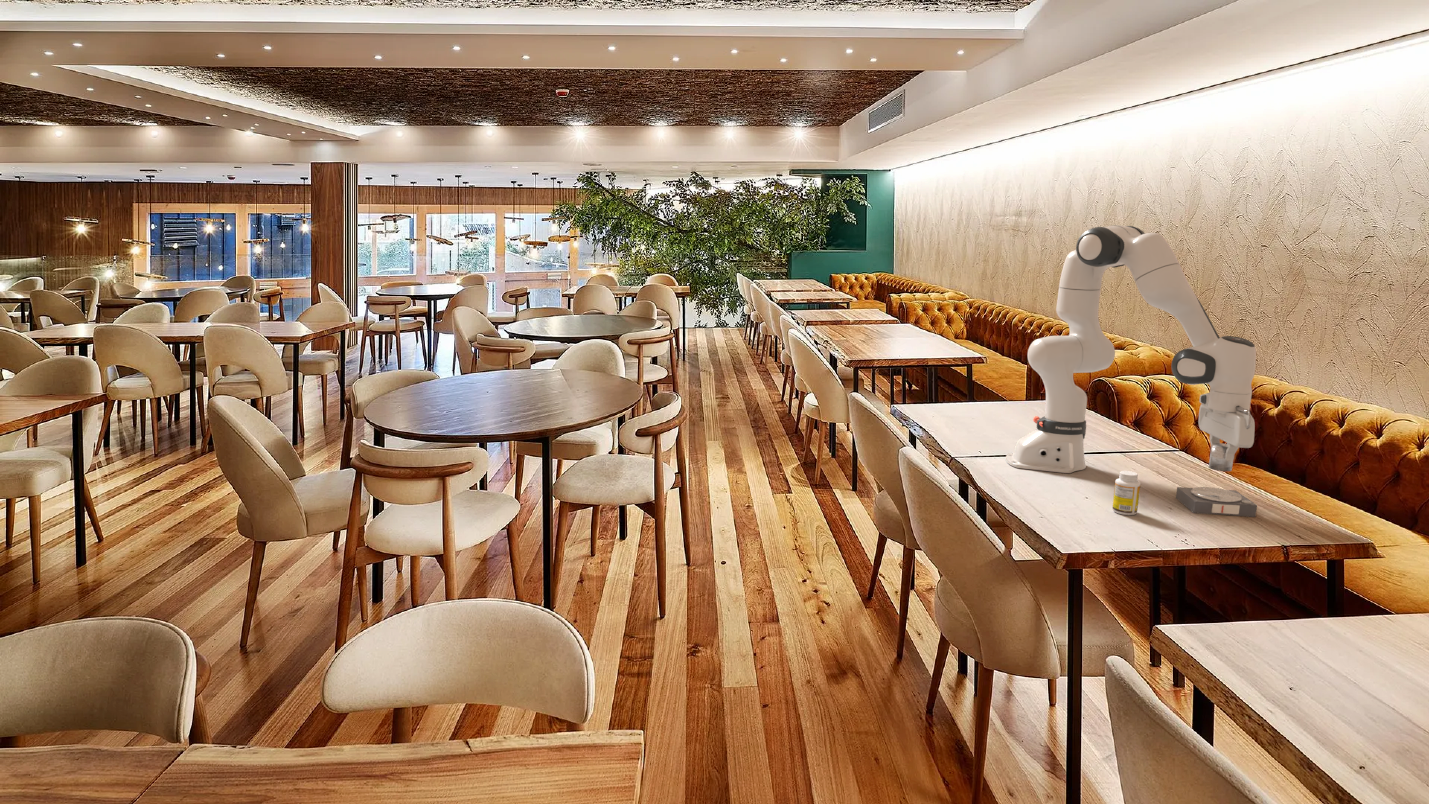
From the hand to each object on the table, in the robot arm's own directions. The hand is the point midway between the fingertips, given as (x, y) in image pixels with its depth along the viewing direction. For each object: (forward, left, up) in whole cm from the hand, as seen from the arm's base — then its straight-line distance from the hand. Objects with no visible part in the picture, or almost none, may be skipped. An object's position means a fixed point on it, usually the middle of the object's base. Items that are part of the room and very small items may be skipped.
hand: (1221, 456), depth 204 cm
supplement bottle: (-24, -9, -14) cm, 29 cm away
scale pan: (0, 0, -10) cm, 10 cm away
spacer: (0, 0, -3) cm, 3 cm away
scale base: (0, 0, -13) cm, 13 cm away
